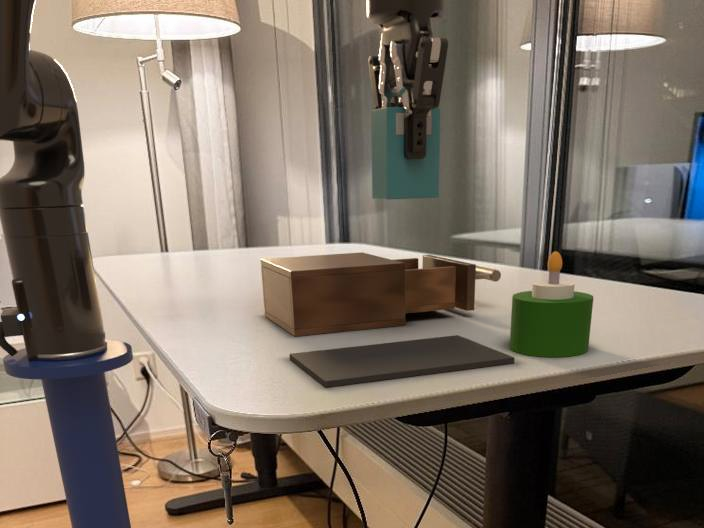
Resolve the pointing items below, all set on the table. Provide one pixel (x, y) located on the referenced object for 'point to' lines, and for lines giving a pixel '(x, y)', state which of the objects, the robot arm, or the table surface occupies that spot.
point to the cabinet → (333, 292)
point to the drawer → (442, 283)
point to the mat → (397, 360)
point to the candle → (551, 317)
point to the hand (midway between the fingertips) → (405, 158)
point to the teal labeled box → (390, 164)
